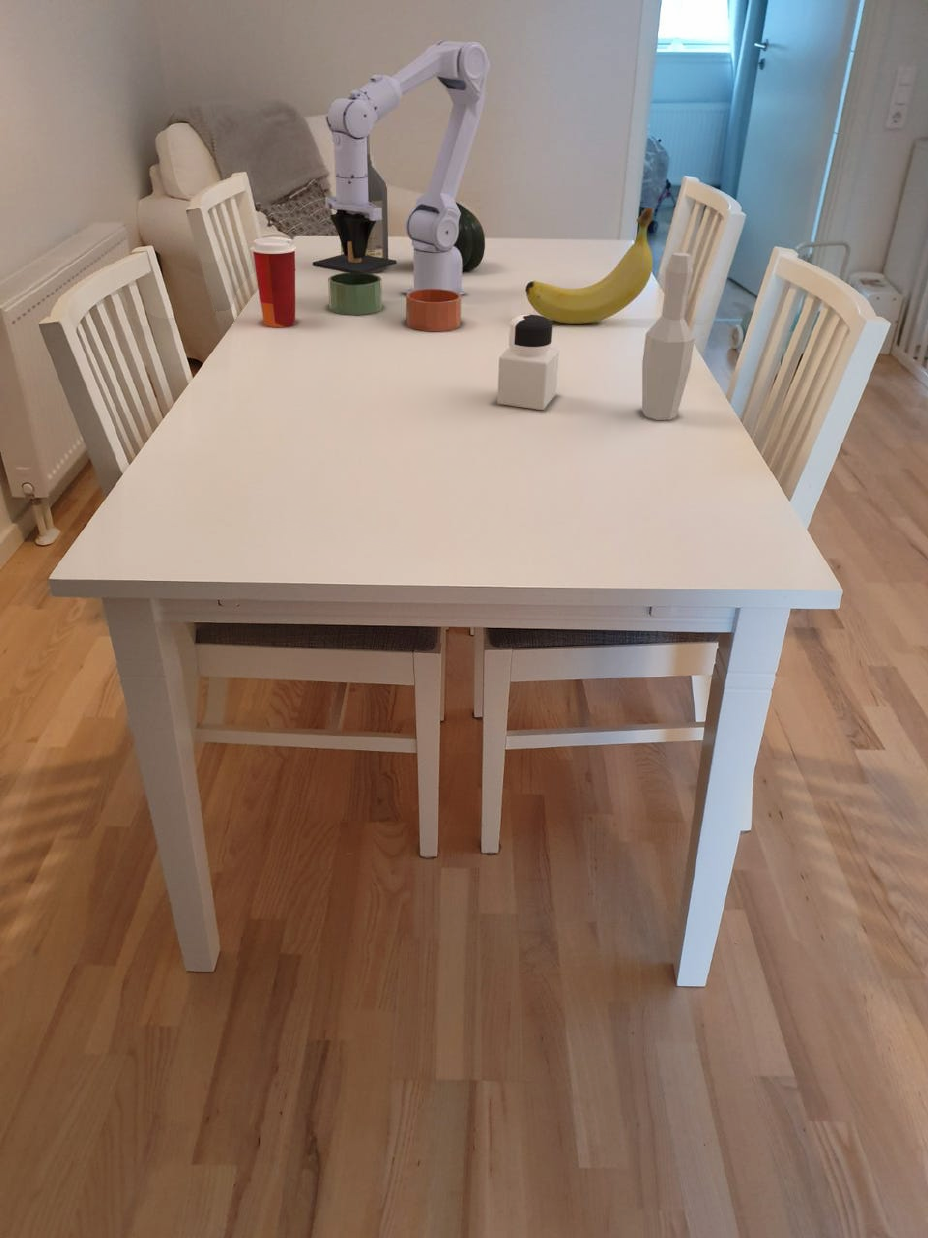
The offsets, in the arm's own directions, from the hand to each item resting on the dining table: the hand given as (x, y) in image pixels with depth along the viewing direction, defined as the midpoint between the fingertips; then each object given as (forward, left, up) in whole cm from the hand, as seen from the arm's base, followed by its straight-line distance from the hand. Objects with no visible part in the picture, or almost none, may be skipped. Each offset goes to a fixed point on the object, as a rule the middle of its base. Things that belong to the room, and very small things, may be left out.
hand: (354, 256), depth 177 cm
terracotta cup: (-5, +17, -9) cm, 20 cm away
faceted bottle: (-1, +72, -10) cm, 73 cm away
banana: (-28, +33, -10) cm, 44 cm away
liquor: (-21, -25, -10) cm, 34 cm away
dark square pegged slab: (0, 0, -2) cm, 2 cm away
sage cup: (0, 0, -9) cm, 9 cm away
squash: (-36, -14, -10) cm, 40 cm away
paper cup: (+17, 0, -10) cm, 20 cm away
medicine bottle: (+10, +56, -10) cm, 58 cm away
